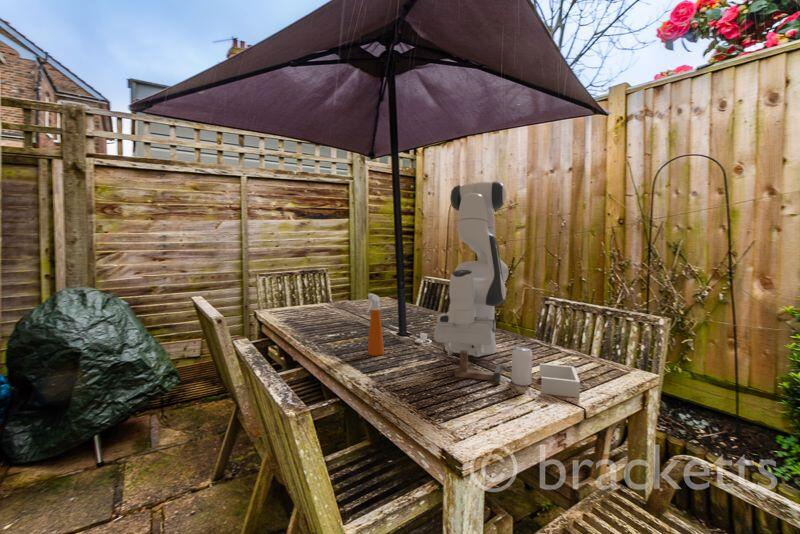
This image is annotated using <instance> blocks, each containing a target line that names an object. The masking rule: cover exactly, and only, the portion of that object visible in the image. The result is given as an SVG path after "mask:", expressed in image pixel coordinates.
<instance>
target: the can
mask: <svg viewBox="0 0 800 534" xmlns="http://www.w3.org/2000/svg"><path fill="white" fill-rule="evenodd" d="M532 374H533V352H532V348H531V347H530V346H527V345H515V346H513V349H512V352H511V382H512V383H513V384H514V385H517V386H521V387H527V386H530V385H531V384H532V378H533V377H532V376H533V375H532Z"/></svg>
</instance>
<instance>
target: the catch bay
mask: <svg viewBox="0 0 800 534" xmlns="http://www.w3.org/2000/svg"><path fill="white" fill-rule="evenodd" d="M538 378H539V379H541V380H540V381H541V384H540V385H541V386H540V392H541V393H540V394H546V395H555V396H562V397H569V398H577V399H580V397H581V396H580V394H581V393H580V391H581V381H580V379H579V378H580V377H579V375H578V373H577V370H576V368H575V366H570V365H562V364H560V365H559V364H550V363H541V362H540V363H539V375H538Z"/></svg>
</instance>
